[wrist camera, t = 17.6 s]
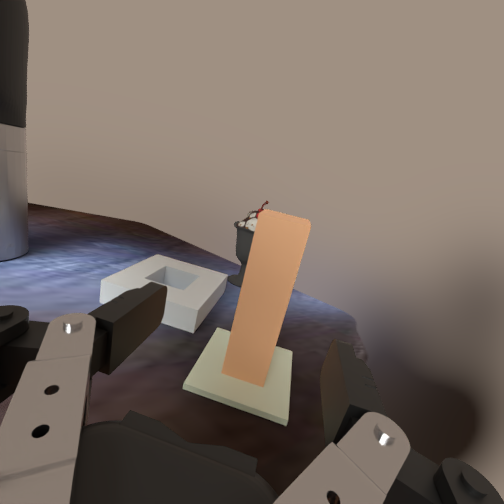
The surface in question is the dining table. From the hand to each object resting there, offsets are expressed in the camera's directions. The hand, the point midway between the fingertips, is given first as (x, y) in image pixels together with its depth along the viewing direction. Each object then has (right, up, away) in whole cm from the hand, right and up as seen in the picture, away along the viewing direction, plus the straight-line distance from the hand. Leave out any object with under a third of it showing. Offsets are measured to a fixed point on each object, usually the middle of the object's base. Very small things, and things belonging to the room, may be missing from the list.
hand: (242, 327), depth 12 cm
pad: (0, -8, +13) cm, 16 cm away
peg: (0, -8, +13) cm, 15 cm away
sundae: (-2, -2, +34) cm, 34 cm away
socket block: (-11, -3, +23) cm, 26 cm away
